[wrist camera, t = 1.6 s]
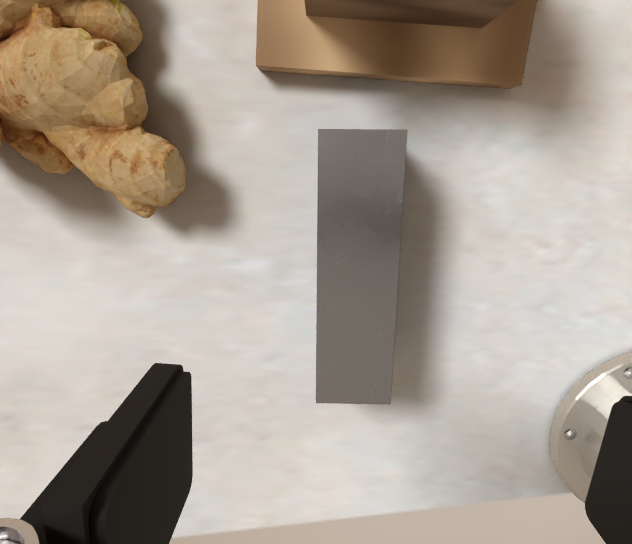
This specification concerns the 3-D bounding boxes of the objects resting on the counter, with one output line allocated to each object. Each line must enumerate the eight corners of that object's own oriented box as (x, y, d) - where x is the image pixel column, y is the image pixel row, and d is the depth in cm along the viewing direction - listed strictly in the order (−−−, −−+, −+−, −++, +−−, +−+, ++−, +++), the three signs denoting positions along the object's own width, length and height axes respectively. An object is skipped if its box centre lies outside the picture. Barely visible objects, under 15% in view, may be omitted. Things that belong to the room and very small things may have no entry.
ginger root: (-167, -105, 21) (-368, -232, 14) (171, -72, 25) (153, -160, 17) (-80, 211, 26) (-196, 243, 19) (194, 203, 30) (188, 226, 22)
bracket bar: (388, 134, 25) (407, 129, 20) (377, 353, 29) (390, 404, 23) (319, 133, 25) (318, 129, 20) (317, 352, 29) (316, 402, 23)
